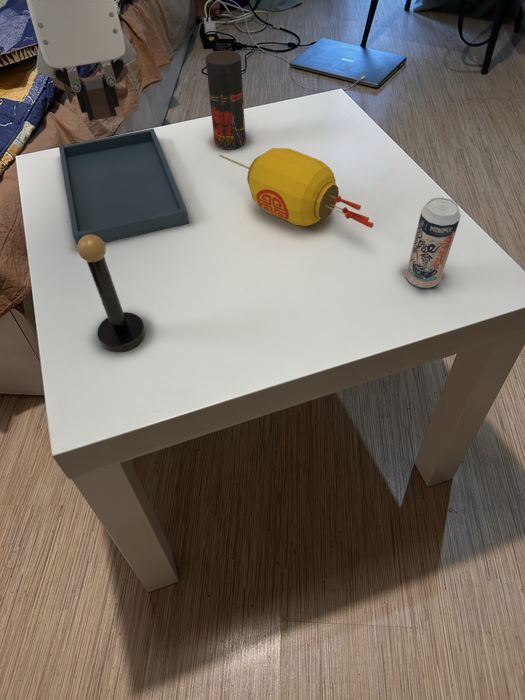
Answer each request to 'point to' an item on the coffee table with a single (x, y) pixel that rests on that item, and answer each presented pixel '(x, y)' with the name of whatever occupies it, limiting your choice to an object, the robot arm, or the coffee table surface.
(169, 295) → the coffee table surface
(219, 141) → the deodorant
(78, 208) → the tray
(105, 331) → the black post with ball
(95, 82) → the brown ring with handle
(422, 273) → the beer can
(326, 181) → the lantern
